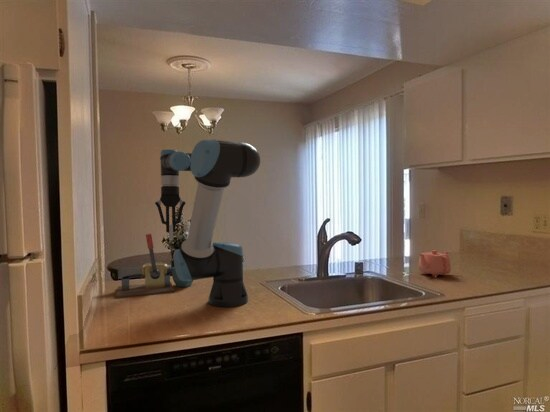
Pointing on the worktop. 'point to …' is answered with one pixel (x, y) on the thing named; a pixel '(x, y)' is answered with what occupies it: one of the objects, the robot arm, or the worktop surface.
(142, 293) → the mount board
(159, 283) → the valve
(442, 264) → the teapot
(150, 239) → the lever
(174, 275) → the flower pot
